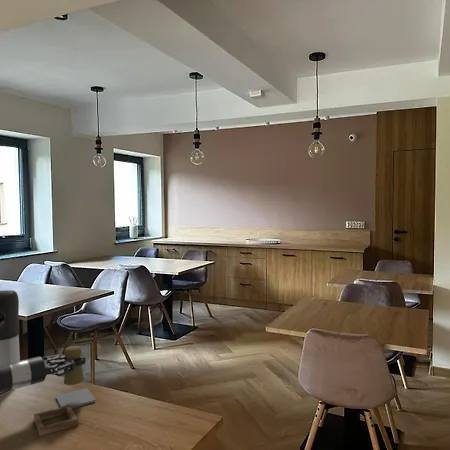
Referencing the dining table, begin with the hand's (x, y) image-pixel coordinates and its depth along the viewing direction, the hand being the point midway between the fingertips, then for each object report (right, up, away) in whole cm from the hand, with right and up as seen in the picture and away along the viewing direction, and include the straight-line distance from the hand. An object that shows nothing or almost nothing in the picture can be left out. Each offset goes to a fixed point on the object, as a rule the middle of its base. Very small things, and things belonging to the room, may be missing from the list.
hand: (81, 358), depth 137 cm
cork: (-2, -7, -2) cm, 7 cm away
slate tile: (-2, -13, -1) cm, 13 cm away
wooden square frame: (-3, -14, -14) cm, 20 cm away
